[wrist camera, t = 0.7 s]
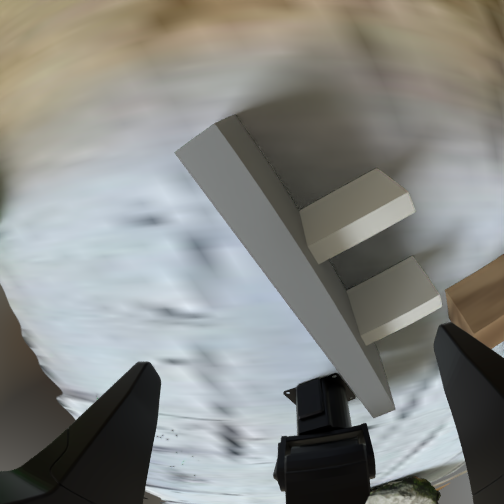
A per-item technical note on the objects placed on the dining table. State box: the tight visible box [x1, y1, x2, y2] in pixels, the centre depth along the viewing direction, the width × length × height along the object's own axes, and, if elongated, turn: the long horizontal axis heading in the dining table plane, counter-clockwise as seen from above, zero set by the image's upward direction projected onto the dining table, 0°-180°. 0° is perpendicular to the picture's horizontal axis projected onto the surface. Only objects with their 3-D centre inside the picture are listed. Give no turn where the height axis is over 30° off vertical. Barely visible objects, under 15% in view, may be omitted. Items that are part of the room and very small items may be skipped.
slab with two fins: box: [174, 114, 442, 418], centre depth 17 cm, size 24×8×7 cm, turn 33°
